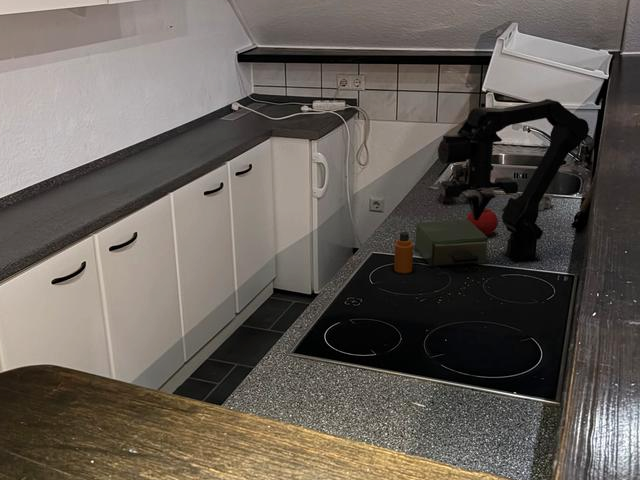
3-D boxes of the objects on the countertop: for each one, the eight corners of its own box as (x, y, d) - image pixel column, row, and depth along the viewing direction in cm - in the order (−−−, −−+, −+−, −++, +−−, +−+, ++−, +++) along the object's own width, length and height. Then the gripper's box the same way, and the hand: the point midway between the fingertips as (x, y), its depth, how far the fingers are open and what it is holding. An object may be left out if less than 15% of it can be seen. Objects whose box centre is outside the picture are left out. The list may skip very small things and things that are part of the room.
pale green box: (485, 262, 199) (487, 237, 196) (431, 266, 197) (432, 241, 195) (466, 243, 212) (468, 219, 210) (415, 247, 211) (416, 222, 208)
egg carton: (554, 207, 240) (555, 195, 238) (538, 212, 236) (539, 199, 234) (526, 199, 248) (527, 187, 247) (511, 203, 244) (512, 191, 243)
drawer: (491, 267, 193) (493, 248, 191) (440, 271, 192) (441, 251, 190) (467, 243, 210) (468, 225, 208) (420, 246, 208) (420, 228, 207)
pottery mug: (440, 196, 255) (454, 176, 252) (463, 212, 252) (478, 191, 249) (430, 197, 244) (444, 175, 242) (454, 214, 241) (468, 192, 238)
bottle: (409, 265, 198) (410, 229, 195) (414, 272, 194) (415, 235, 190) (392, 267, 198) (393, 230, 194) (396, 273, 194) (397, 236, 190)
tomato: (484, 227, 224) (486, 201, 222) (503, 236, 217) (505, 209, 214) (459, 231, 221) (460, 205, 218) (478, 241, 214) (479, 214, 211)
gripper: (503, 150, 197) (499, 208, 203) (433, 154, 195) (430, 212, 201) (521, 160, 187) (516, 221, 192) (447, 165, 185) (444, 226, 191)
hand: (475, 219), depth 194 cm, fingers closed
